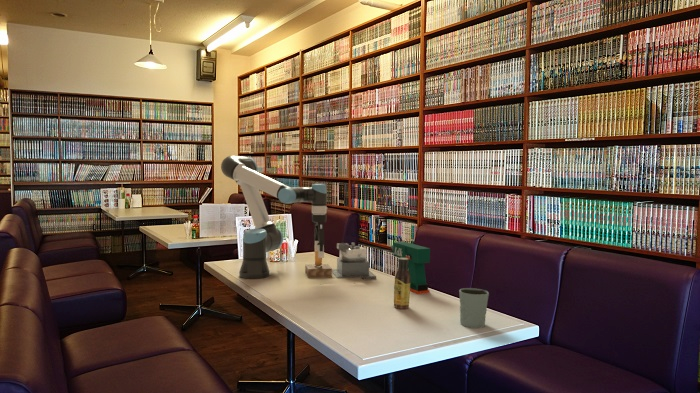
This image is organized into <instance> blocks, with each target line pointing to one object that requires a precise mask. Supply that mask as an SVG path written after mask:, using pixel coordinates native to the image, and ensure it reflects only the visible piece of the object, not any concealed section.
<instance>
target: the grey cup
mask: <svg viewBox="0 0 700 393" xmlns="http://www.w3.org/2000/svg"><path fill="white" fill-rule="evenodd" d="M458 292H459V313H460V315H459V316H460V320H459V323H460V325H461V326H463V327H466V328H471V329H481V328H484V327H485V326H486V314H487V311H488V310H487V309H488V308H487V307H488V301H489V296H490V293H489V291H488V290H486V289H481V288H475V287H474V288H473V287H465V288H464V287H463V288H460V289H459V290H458Z"/></svg>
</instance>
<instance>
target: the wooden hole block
mask: <svg viewBox="0 0 700 393" xmlns="http://www.w3.org/2000/svg"><path fill="white" fill-rule="evenodd" d="M304 268H305V269H304V272H305V274H306V276H307V278H321V277H322V278H326V277H327V278H330V277H332V276H333V273H332V269H333V268H332V267H331V265H329V263H322V265H321V267H316V265H315V263H314V264H313V263H312V264H310V263H309V264H305V267H304Z"/></svg>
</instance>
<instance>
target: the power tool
mask: <svg viewBox="0 0 700 393" xmlns="http://www.w3.org/2000/svg"><path fill="white" fill-rule="evenodd" d="M392 243H393V244H392V245H389V247H390V248H391V250H392V256H393V257H396V258H398V259H399V258H408V259H409V262H408V272H409V274H410V292H412V293H413V294H417V295H421V294H429V293H430V289H429V284H428V283H427V278H426V277H427V276H426V269H425V264H430V263H431V248H430V247H426V246H421V245H418V244H414V243H411V242H407V241H397V242H396V241H393V242H392Z"/></svg>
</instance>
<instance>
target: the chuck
mask: <svg viewBox="0 0 700 393" xmlns="http://www.w3.org/2000/svg"><path fill="white" fill-rule="evenodd" d="M336 249H337V250H339V254H338V255H339V257H338V258H339V260H341V261H346V262H362V261H366V260H367V254H368V253H367V248H366V247H363V246H360V245H356V243H355V242H351V245H349V243H347V242H341V243H340V242H339V243H338V242H337V243H336Z"/></svg>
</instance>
